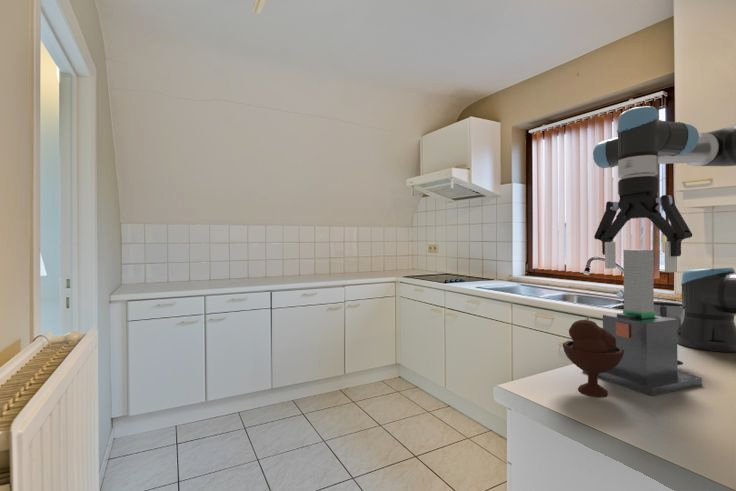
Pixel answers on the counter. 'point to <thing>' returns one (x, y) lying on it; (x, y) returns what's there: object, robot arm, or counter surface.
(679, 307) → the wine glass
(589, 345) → the ice cream bowl
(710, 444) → the counter surface
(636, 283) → the post
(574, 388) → the counter surface
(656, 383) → the stand housing
